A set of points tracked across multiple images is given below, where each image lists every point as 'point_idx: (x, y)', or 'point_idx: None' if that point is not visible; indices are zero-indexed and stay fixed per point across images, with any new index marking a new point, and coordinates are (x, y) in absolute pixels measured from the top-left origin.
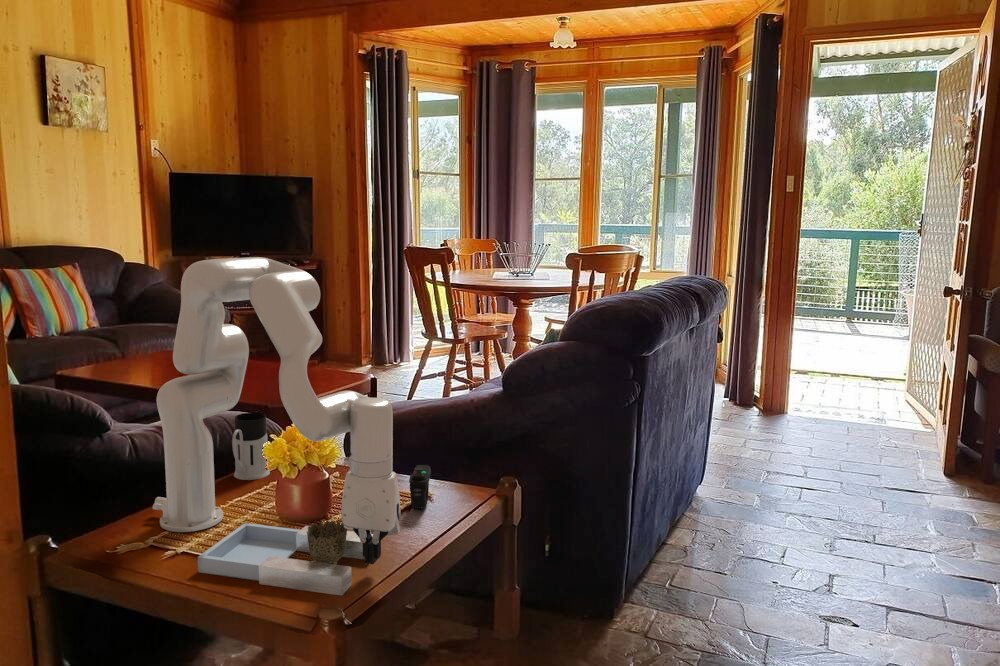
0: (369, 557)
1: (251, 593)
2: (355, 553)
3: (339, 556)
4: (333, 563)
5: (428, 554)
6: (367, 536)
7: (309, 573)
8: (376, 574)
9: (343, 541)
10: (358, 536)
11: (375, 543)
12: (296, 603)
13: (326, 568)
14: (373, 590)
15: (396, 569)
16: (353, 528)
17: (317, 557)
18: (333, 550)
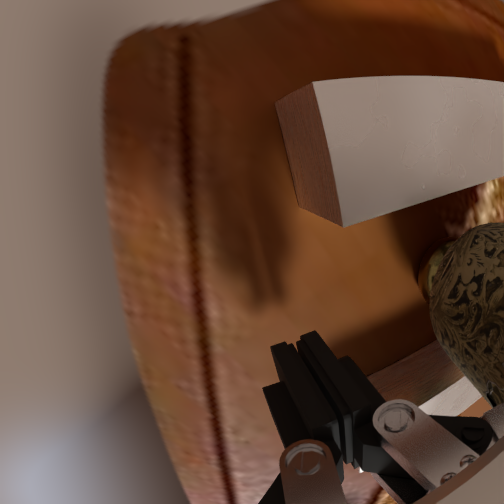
0: (302, 362)
1: (490, 41)
2: (396, 377)
3: (437, 294)
4: (434, 275)
5: (196, 487)
6: (382, 453)
7: (458, 77)
8: (258, 339)
9: (474, 345)
10: (434, 415)
11: (298, 447)
12: (380, 2)
13: (435, 143)
14: (174, 223)
15: (214, 402)
16: (489, 427)
17: (494, 223)
18: (480, 272)
